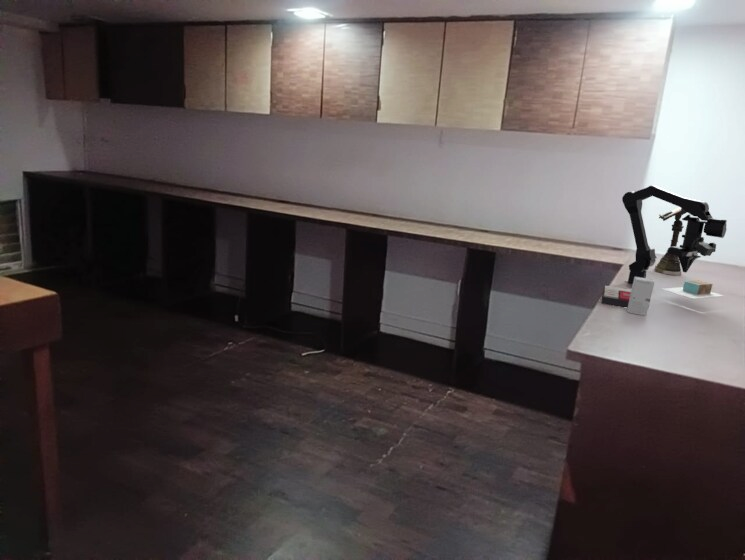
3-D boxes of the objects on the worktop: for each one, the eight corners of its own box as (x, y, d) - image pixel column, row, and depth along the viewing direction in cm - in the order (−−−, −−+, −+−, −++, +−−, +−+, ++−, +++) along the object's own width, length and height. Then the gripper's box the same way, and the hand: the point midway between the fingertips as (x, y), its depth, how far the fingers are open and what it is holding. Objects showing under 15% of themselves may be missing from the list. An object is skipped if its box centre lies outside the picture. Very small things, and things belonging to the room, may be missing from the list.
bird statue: (644, 271, 266) (659, 196, 257) (642, 266, 278) (657, 194, 269) (683, 277, 261) (700, 201, 252) (679, 271, 273) (696, 198, 264)
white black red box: (602, 294, 204) (604, 283, 217) (600, 306, 205) (602, 294, 218) (636, 300, 200) (635, 288, 213) (633, 311, 201) (633, 299, 215)
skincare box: (628, 313, 196) (635, 279, 192) (626, 309, 200) (633, 276, 197) (647, 316, 194) (654, 281, 191) (645, 312, 198) (652, 278, 195)
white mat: (692, 299, 221) (692, 298, 221) (660, 289, 233) (661, 288, 233) (724, 296, 230) (724, 295, 230) (692, 287, 242) (692, 286, 242)
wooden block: (698, 285, 227) (712, 283, 231) (684, 281, 232) (698, 280, 236) (696, 294, 228) (710, 293, 232) (682, 290, 233) (696, 289, 237)
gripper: (697, 237, 210) (688, 278, 214) (728, 237, 219) (719, 276, 222) (670, 232, 220) (662, 271, 224) (701, 231, 228) (692, 269, 232)
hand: (684, 272), depth 225 cm, fingers closed
